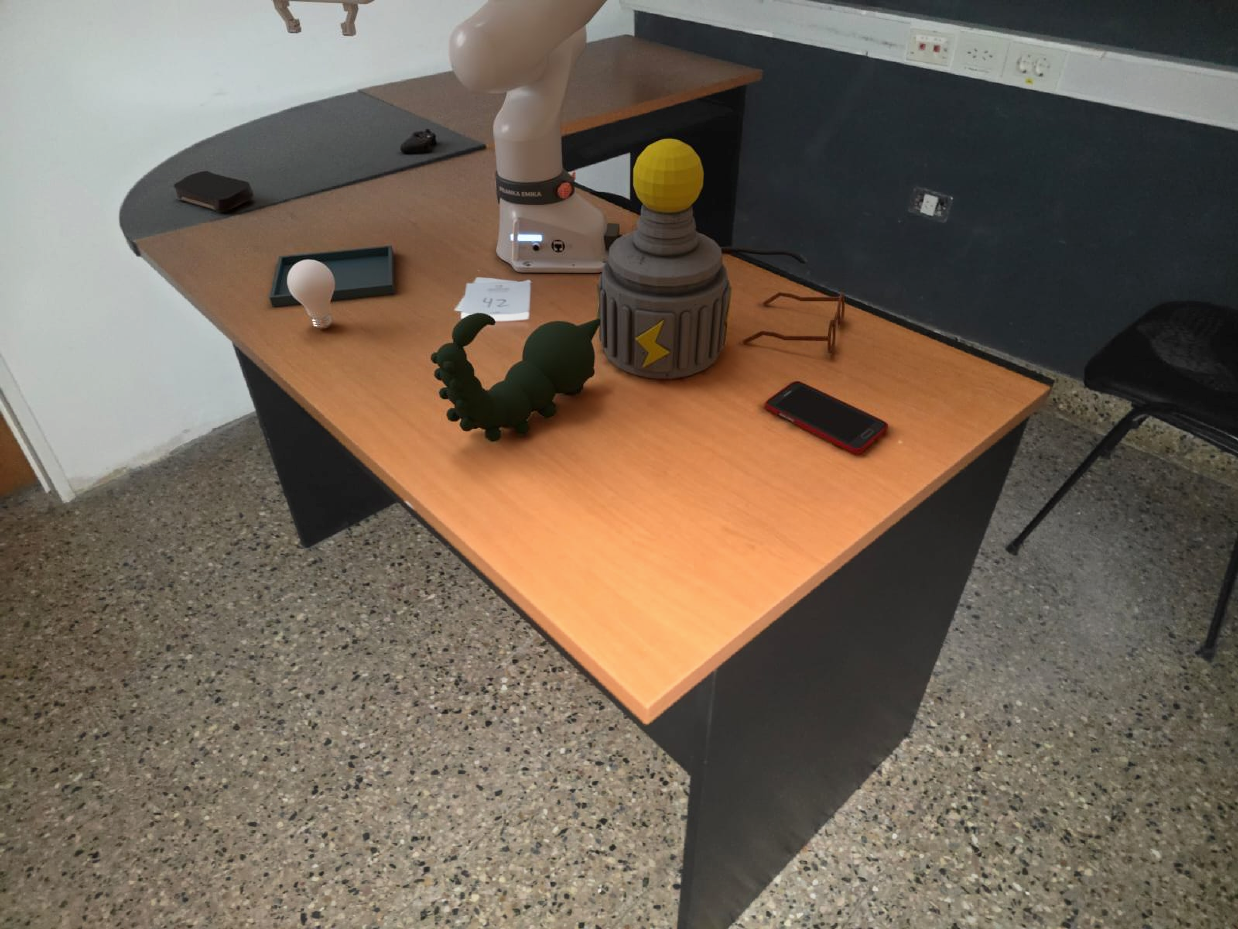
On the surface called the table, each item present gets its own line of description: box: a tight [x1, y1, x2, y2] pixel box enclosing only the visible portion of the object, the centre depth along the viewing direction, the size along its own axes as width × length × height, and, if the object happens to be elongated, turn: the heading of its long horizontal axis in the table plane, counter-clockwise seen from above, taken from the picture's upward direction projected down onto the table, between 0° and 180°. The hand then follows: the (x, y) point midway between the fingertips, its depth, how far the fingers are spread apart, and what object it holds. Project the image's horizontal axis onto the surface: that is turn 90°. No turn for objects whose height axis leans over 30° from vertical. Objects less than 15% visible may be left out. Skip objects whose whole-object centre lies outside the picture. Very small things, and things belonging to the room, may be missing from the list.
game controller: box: [399, 128, 438, 154], centre depth 183 cm, size 10×5×6 cm
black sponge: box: [173, 170, 254, 213], centre depth 159 cm, size 16×8×4 cm, turn 59°
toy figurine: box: [430, 312, 601, 443], centre depth 99 cm, size 9×19×25 cm
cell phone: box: [764, 380, 889, 455], centre depth 103 cm, size 8×15×1 cm, turn 46°
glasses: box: [742, 291, 846, 354], centre depth 119 cm, size 13×13×5 cm
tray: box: [269, 244, 395, 308], centre depth 134 cm, size 19×15×2 cm
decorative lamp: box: [595, 138, 733, 380], centre depth 108 cm, size 19×19×30 cm
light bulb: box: [287, 260, 335, 330], centre depth 118 cm, size 7×7×11 cm
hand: (322, 33), depth 124 cm, fingers open, 8 cm apart
